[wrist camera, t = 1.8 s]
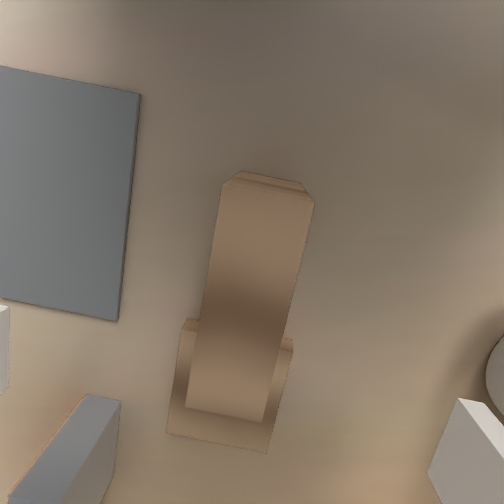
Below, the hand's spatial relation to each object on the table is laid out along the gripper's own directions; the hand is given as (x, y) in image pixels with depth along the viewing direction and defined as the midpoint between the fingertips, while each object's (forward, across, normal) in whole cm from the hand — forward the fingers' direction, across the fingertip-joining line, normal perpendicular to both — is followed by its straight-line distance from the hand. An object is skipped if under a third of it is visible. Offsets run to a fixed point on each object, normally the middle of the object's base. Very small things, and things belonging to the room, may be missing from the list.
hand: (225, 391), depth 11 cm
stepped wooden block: (+13, 0, -3) cm, 13 cm away
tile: (+13, -8, -16) cm, 22 cm away
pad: (+12, -12, +2) cm, 17 cm away
